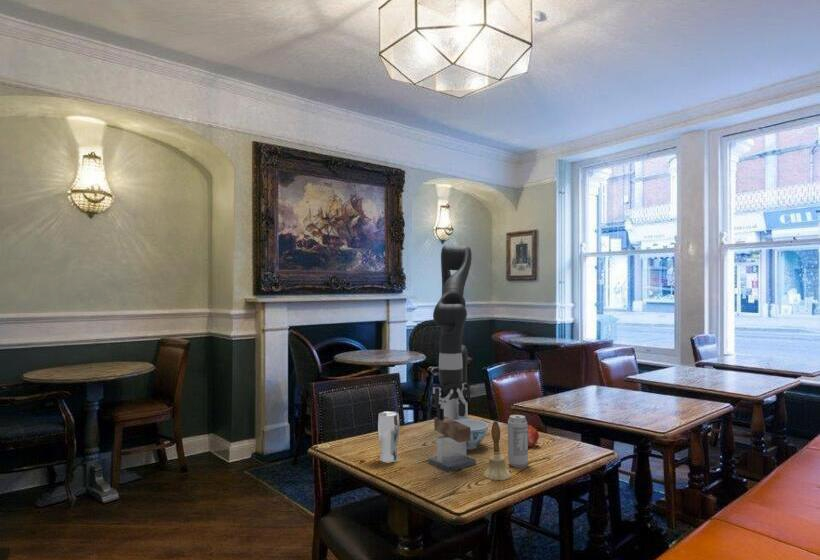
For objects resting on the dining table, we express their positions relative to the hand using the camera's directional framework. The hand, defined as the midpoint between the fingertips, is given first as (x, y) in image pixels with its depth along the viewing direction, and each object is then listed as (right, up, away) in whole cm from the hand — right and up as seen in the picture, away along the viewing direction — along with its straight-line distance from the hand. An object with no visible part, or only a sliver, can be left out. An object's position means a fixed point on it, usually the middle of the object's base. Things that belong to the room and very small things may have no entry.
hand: (451, 418), depth 162 cm
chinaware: (+7, -15, +18) cm, 24 cm away
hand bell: (+13, -14, -11) cm, 22 cm away
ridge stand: (0, -14, 0) cm, 14 cm away
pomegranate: (+29, -15, +18) cm, 37 cm away
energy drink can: (+21, -14, -2) cm, 25 cm away
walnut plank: (0, -5, 0) cm, 5 cm away
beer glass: (-20, -15, +4) cm, 25 cm away
